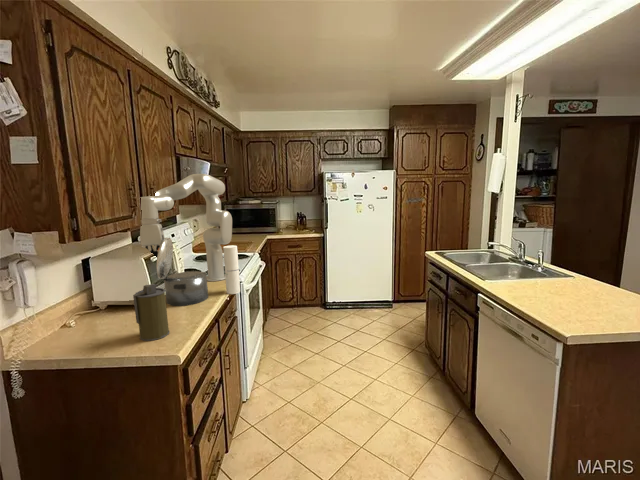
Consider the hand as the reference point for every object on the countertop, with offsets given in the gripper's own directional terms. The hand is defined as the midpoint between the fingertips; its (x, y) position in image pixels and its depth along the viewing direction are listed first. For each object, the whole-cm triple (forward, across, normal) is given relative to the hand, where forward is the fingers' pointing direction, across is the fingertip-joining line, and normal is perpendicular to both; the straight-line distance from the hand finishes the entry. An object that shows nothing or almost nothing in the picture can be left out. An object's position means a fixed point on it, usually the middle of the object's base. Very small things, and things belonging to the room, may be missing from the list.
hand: (154, 258), depth 165 cm
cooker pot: (+22, -14, 0) cm, 26 cm away
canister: (+22, -12, +42) cm, 49 cm away
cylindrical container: (+22, -36, -7) cm, 43 cm away
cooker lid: (0, -6, 0) cm, 6 cm away
